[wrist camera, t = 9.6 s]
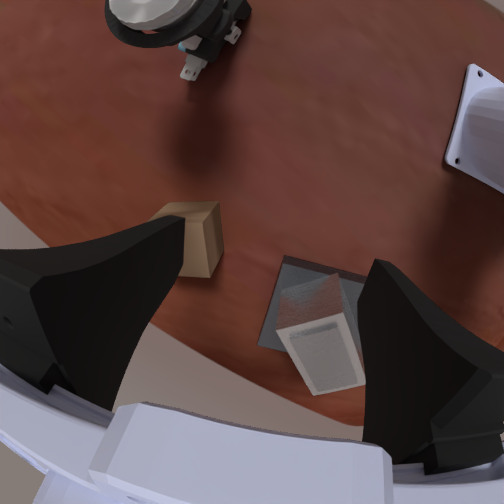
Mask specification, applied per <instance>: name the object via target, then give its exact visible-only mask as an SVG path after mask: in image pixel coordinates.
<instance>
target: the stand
mask: <svg viewBox="0 0 504 504" xmlns="http://www.w3.org/2000/svg"><path fill="white" fill-rule="evenodd" d="M335 273H338V274H339V277H340V280H341V283H342V285H343V288H344V291H345V294H346V297H347V300H348V303H349V306H350V309H351V312H352V315H353V318H354V321H355V324H356V327H357V330H358V333H359V329H358V320H357V300H358V298H359V296H360V294H361V291H362V289H363V287H364V284H365V282H366V279H367V277H366V276H362V275H358V274H355V273H351V272H347V271H343V270H339V269H336V268H332V267H328V266H324V265H320V264H317V263H313V262H309V261H305V260H301V259H297V258H294V257H290V256H286V255H284V258H283V261H282V264H281V268H280V271H279V274H278V278H277V281H276V284H275V287H274V291H273V294H272V297H271V300H270V303H269V307H268V310H267V313H266V316H265V319H264V322H263V326H262V329H261V332H260V335H259V339H258V344H257V345H258V346H262V347H266V348H271V349H275V350H279V351H283V352H288V351H287V350H286V348H285V346H284V344H283V343H282V341H281V339H280V337H279V336H278V334H277V332H276V325H277V318H278V311H279V304H280V297H281V290H283V289H287V288H290V287H293V286H297V285H300V284H303V283H306V282H310V281H313V280H316V279H319V278H323V277H326V276H329V275H332V274H335Z"/></svg>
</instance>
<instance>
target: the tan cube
mask: <svg viewBox="0 0 504 504" xmlns="http://www.w3.org/2000/svg"><path fill="white" fill-rule="evenodd" d="M167 215H174V216H179V217H184V218H186V219H185V238H184V263H183V266H182V268H181V270H180V273H179V275H178V276H187V277H203V278H210V277H211V275H212V273H213V271H214V269H215V267H216V265H217V263H218V261H219V259H220V257H221V255H222V253H223V251H224V243H223V234H222V225H221V215H220V205H219V201H200V202H169V203H168V204H167V205H165V206H164V207H163V208H162V209H161V210H160V211H158V212H157V213H156V214H155V215H154V216H153V217H152V218H151V219H149V220H148V221H147V222H149V221H151V220H154V219H157V218H160V217H163V216H167Z"/></svg>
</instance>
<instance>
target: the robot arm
mask: <svg viewBox="0 0 504 504" xmlns="http://www.w3.org/2000/svg"><path fill="white" fill-rule="evenodd" d="M478 71H479V72H480V77H479V76H478ZM456 158H458V163H457V164H455V159H456ZM445 161H446V163H447V164H449V165H451V166H453V167H455V168H457V169H459V170H461V171H463V172H465V173H467V174H469V175H471V176H473V177H475V178H477V179H478V180H480V181H482V182H484V183H486V184H488V185H489V186H491V187H493V188H495V189H496V190H498V191H500V192H502V193H503V194H504V84H503V83H502V82H501V81H499V80H498V79H496V78H495V77H494V76H492V75H491V74H489V73H488V72H486V71H485V70H483V69H482V68H480V67H478V66H477V65H475V64H469V65H468V67H467V72H466V77H465V82H464V87H463V91H462V96H461V100H460V104H459V108H458V112H457V116H456V120H455V124H454V127H453V131H452V134H451V138H450V141H449V144H448V148H447V151H446V154H445ZM185 219H186V218H184V217H179V216H174V215H167V216H163V217H160V218H157V219H154V220H151V221H149V222H146V223H143V224H140V225H138V226H135V227H132V228H129V229H126V230H123V231H120V232H117V233H114V234H111V235H108V236H105V237H102V238H98V239H94V240H90V241H86V242H81V243H76V244H70V245H64V246H59V247H51V248H41V249H22V250H20V249H19V250H17V249H12V250H11V249H10V250H9V249H6V250H5V249H0V441H2V442H3V443H4V444H5V445H6V446H8V447H9V448H10V449H11V450H12V451H14V452H15V453H17V454H18V455H19V456H20V457H22V458H23V459H24V460H26V461H27V462H28V463H30V464H31V465H32V466H34V467H35V468H37V469H38V470H39V471H41V472H42V473H44V474H45V475H46V477H45V479H44V480H43V482H42V484H41V486H40V488H39V490H38V493H37V495H36V497H35V499H34V501H33V503H32V504H504V441H501V437H500V434H502V433H503V432H504V424H503V421H504V352H502V351H501V350H499V349H497V348H496V347H494V346H492V345H490V344H488V343H487V342H485V341H484V340H482V339H480V338H479V337H477V336H476V335H474V334H473V333H471V332H470V331H468V330H467V329H465V328H464V327H463V326H461V325H460V324H459V323H457V322H456V321H455V320H454V319H452V318H451V317H450V316H449V315H447V314H446V313H445V312H444V311H443V310H441V309H440V308H439V307H438V306H437V305H436V304H435V303H434V302H433V301H432V300H430V299H429V298H428V297H427V296H426V295H425V294H424V293H423V292H422V291H421V290H420V289H419V288H418V287H417V286H416V285H415V284H414V283H413V282H412V281H411V280H410V279H409V278H408V277H407V276H406V275H404V274H403V273H402V272H401V271H400V270H399V269H398V268H397V267H396V266H394V265H393V264H392V263H390V262H388V261H384V260H379V259H375V260H374V262H373V265H372V267H371V270H370V272H369V275H368V277H367V279H366V282H365V284H364V287H363V289H362V291H361V294H360V296H359V298H358V300H357V320H358V329H359V336H360V342H361V349H362V355H363V362H364V369H365V381H366V391H365V417H364V429H363V439H362V442H360V441H355V440H350V439H337V438H326V437H315V436H307V435H299V434H291V433H285V432H278V431H272V430H267V429H261V428H256V427H251V426H246V425H241V424H237V423H232V422H228V421H223V420H219V419H215V418H211V417H208V416H203V415H200V414H196V413H193V412H189V411H186V410H182V409H179V408H175V407H169V406H164V405H159V404H154V403H149V402H141V403H136V404H130V405H124V406H119V407H118V409H117V411H116V413H112V408H113V405H114V402H115V399H116V396H117V393H118V390H119V387H120V385H121V382H122V379H123V377H124V374H125V371H126V369H127V367H128V364H129V362H130V359H131V357H132V355H133V352H134V350H135V348H136V346H137V344H138V342H139V340H140V337H141V335H142V333H143V331H144V330H145V328H146V326H147V324H148V323H149V321H150V320H151V318H152V317H153V315H154V314H155V312H156V311H157V309H158V308H159V306H160V305H161V303H162V302H163V300H164V299H165V297H166V295H167V294H168V292H169V291H170V289H171V288H172V286H173V285H174V283H175V281H176V279H177V277H178V275H179V273H180V270H181V268H182V266H183V263H184V238H185Z"/></svg>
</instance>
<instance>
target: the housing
mask: <svg viewBox="0 0 504 504" xmlns="http://www.w3.org/2000/svg"><path fill="white" fill-rule="evenodd" d="M276 332H277V334H278V336H279V337H280V339H281V341H282V343H283V344H284V346H285V348H286V350H287V351H288V353H289V355H290V357H291V358H292V360H293V362H294V364H295V365H296V367H297V369H298V370H299V372H300V374H301V376H302V377H303V379H304V381H305V383H306V384H307V386H308V388H309V390H310V391H311V393H312V395H313V396H314V395H320V394H325V393H330V392H334V391H339V390H343V389H348V388H352V387H356V386H360V385H364V384H366V381H365V369H364V362H363V355H362V349H361V342H360V336H359V333H358V330H357V327H356V324H355V321H354V318H353V315H352V312H351V309H350V306H349V303H348V300H347V297H346V294H345V291H344V288H343V285H342V283H341V280H340V277H339V274H338V273H335V274H332V275H329V276H326V277H323V278H319V279H316V280H313V281H310V282H306V283H303V284H300V285H297V286H293V287H290V288H287V289H283V290H281V297H280V304H279V311H278V318H277V325H276Z"/></svg>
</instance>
